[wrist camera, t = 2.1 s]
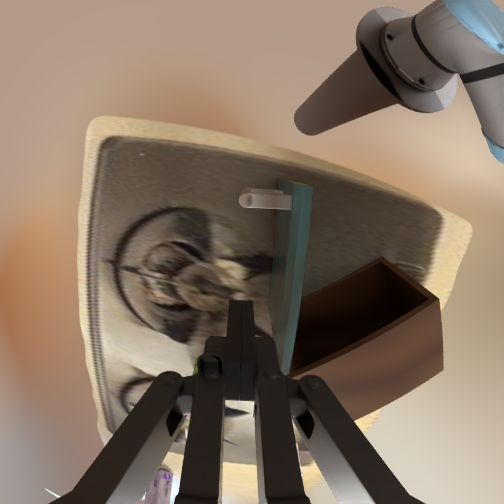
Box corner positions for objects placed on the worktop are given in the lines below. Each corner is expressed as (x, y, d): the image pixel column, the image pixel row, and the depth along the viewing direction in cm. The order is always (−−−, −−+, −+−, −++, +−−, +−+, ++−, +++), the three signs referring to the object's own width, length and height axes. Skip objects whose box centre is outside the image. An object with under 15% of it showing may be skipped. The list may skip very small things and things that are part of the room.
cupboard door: (235, 307, 43) (232, 374, 28) (241, 176, 37) (239, 181, 22) (274, 308, 43) (289, 374, 28) (285, 179, 37) (313, 186, 22)
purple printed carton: (159, 487, 65) (153, 525, 48) (146, 482, 64) (138, 520, 47) (175, 472, 60) (168, 518, 44) (160, 467, 60) (151, 513, 43)
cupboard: (273, 311, 44) (287, 379, 28) (382, 256, 41) (439, 298, 26) (304, 367, 47) (323, 433, 32) (399, 319, 45) (443, 369, 30)
